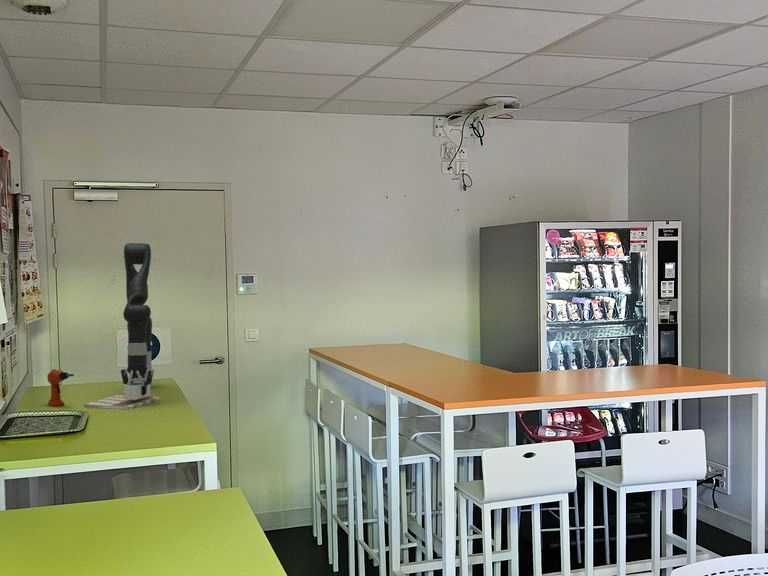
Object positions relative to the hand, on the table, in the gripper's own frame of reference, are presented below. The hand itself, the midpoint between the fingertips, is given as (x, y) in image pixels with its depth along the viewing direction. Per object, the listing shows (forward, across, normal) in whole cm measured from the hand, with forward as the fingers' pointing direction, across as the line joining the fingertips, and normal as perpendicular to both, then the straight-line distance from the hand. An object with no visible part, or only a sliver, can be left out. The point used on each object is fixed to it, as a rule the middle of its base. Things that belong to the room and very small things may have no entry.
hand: (137, 394), depth 318 cm
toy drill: (+4, +26, +12) cm, 29 cm away
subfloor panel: (+4, +6, 0) cm, 8 cm away
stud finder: (+1, 0, 0) cm, 1 cm away
